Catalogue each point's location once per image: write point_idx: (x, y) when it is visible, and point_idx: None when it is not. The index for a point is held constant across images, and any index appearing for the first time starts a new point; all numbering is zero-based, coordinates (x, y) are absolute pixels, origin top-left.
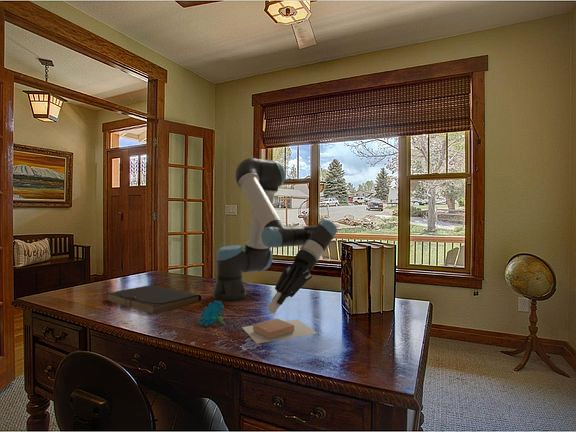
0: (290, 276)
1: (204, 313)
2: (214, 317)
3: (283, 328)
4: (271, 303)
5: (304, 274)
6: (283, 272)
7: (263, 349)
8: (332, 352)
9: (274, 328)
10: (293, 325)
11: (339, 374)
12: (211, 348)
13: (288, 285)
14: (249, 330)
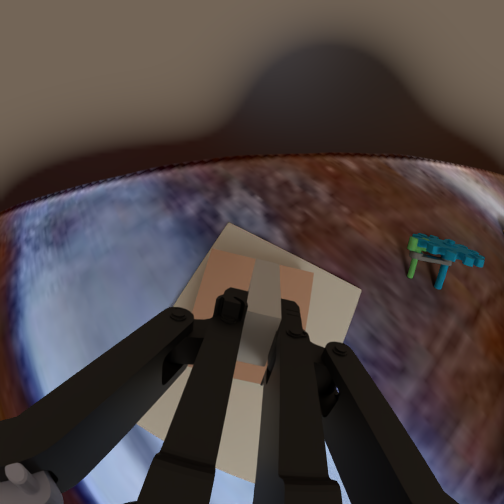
0: (273, 486)
1: (458, 245)
2: (425, 239)
3: (193, 308)
4: (270, 274)
5: (1, 439)
6: (427, 489)
7: (194, 214)
8: (38, 299)
9: (222, 287)
10: None
11: (21, 219)
12: (299, 161)
13: (205, 362)
14: (323, 283)
